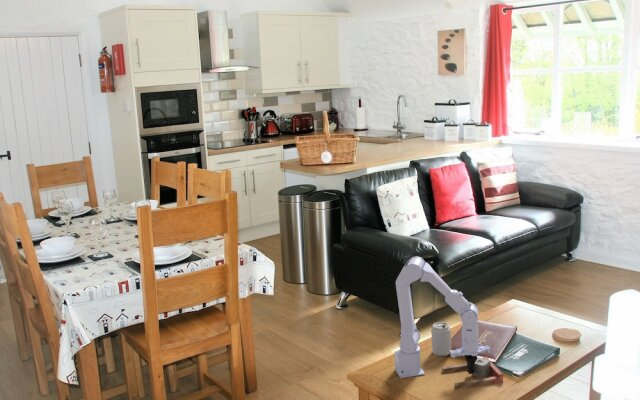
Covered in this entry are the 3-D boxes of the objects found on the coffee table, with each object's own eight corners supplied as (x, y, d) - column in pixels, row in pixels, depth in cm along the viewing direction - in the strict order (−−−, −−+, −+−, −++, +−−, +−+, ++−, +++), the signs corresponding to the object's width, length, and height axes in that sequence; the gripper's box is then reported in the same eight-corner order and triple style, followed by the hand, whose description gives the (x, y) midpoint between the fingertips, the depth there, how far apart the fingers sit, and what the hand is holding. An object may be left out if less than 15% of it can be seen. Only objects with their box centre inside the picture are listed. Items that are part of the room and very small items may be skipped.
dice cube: (478, 369, 228) (478, 357, 227) (490, 373, 224) (490, 360, 223) (471, 375, 224) (471, 362, 223) (484, 378, 221) (483, 366, 220)
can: (451, 357, 239) (450, 328, 236) (432, 357, 240) (430, 328, 238) (451, 348, 246) (450, 320, 244) (432, 348, 248) (431, 320, 245)
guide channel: (456, 389, 215) (455, 381, 215) (442, 370, 229) (441, 363, 228) (503, 381, 218) (502, 373, 217) (486, 363, 231) (486, 356, 231)
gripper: (455, 345, 215) (455, 380, 218) (494, 340, 217) (494, 375, 220) (447, 337, 222) (448, 371, 225) (485, 332, 224) (486, 366, 227)
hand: (470, 372), depth 223 cm, fingers closed, pressing on dice cube
